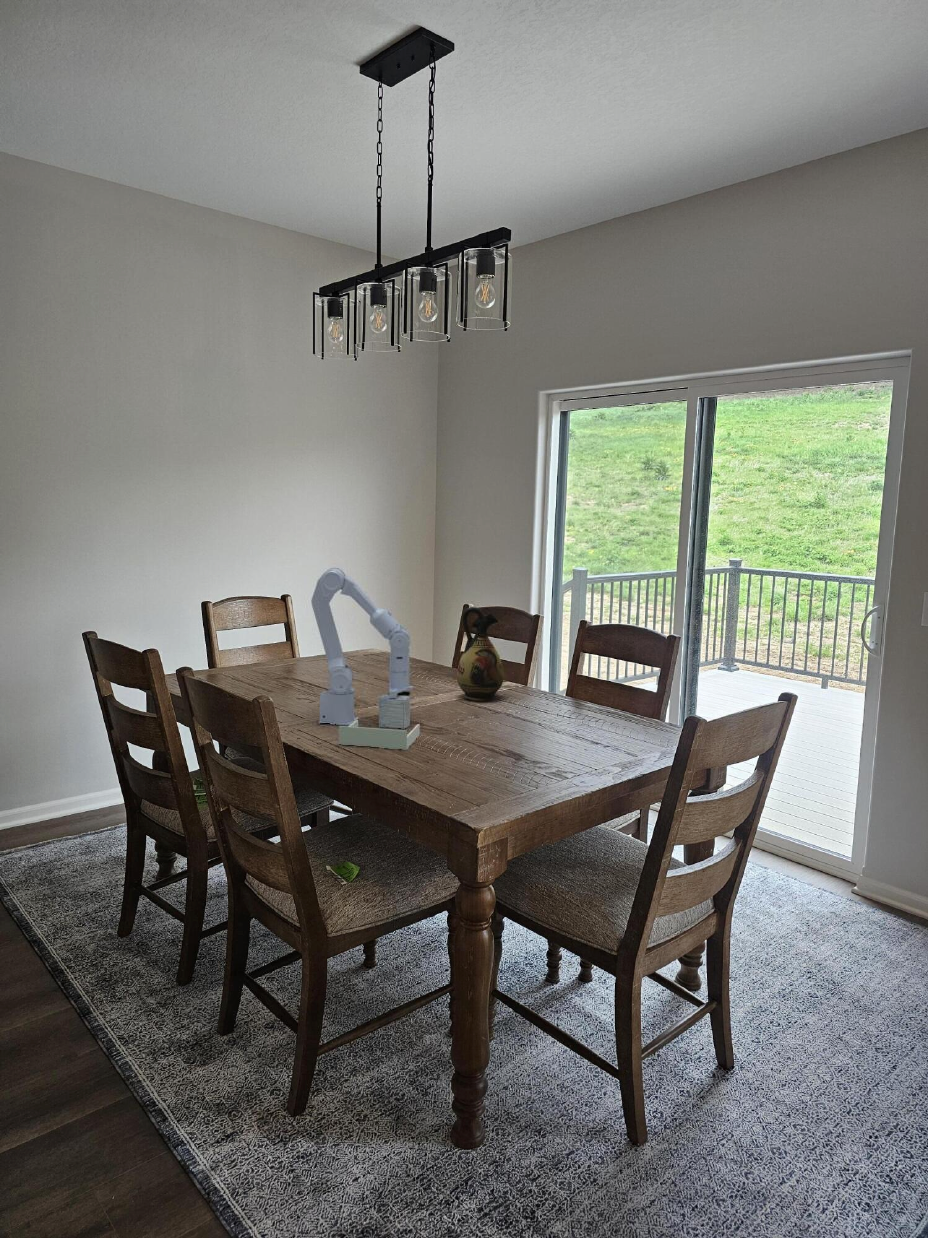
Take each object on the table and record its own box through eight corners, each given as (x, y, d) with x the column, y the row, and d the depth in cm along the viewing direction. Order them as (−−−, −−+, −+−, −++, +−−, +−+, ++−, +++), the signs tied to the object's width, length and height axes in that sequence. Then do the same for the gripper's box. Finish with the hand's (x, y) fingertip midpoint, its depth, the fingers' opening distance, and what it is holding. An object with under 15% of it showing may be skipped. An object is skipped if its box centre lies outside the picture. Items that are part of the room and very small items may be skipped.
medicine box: (410, 725, 231) (410, 696, 230) (404, 729, 227) (405, 699, 226) (384, 723, 233) (384, 693, 232) (378, 727, 229) (378, 697, 228)
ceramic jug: (504, 694, 274) (506, 605, 270) (502, 704, 258) (504, 611, 255) (454, 692, 275) (455, 604, 271) (448, 702, 260) (450, 609, 256)
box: (338, 745, 210) (338, 726, 210) (356, 730, 225) (356, 713, 224) (406, 750, 207) (406, 731, 207) (419, 735, 221) (419, 717, 221)
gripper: (406, 676, 225) (406, 724, 227) (418, 667, 239) (418, 712, 241) (382, 675, 226) (381, 722, 228) (395, 665, 241) (395, 710, 242)
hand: (399, 717), depth 235 cm, fingers closed
